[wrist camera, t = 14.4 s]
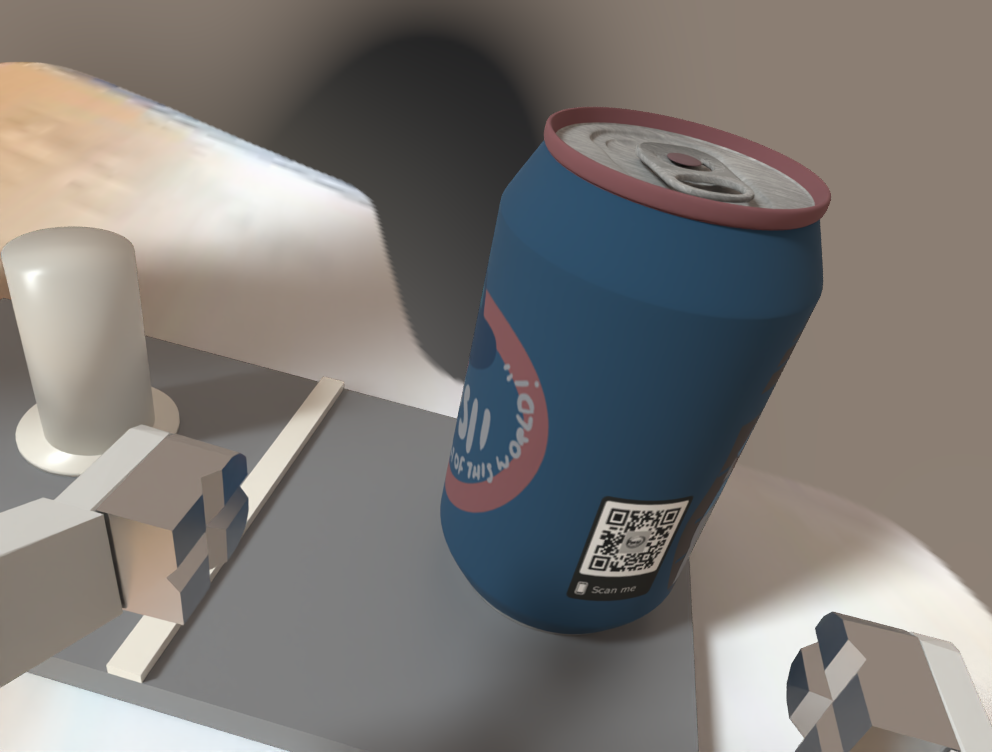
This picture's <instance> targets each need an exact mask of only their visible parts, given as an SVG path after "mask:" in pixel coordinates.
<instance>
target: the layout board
mask: <svg viewBox="0 0 992 752" xmlns="http://www.w3.org/2000/svg"><path fill="white" fill-rule="evenodd" d="M1 259H2V263H3V267H4V271H5V275H6V279H7V283H8V288H9V292H10V296H11V300H9V299H6V298H3V299H1V300H0V513H1V512H4V511H7V510H10V509H12V508H15V507H18V506H21V505H24V504H26V503H29V502H32V501H35V500H38V499H40V498H47V499H51V500H54V499H56V498H57V497H58V496H59V495H60V494H61V493H62V492H63V491H64V490H65V489H66V488H67V487H68V486H69V485H70V484H71V483H73V482H74V481H75V480H76V479H77V478H78V477H79V476H80V475H81V474H82V473H83V472H84V471H85V470H86V469H87V468H89V467H90V466H91V465H92V464H93V463H94V462H95V461H96V460H97V459H98V458H99V457H100V456H101V455H102V454H103V453H104V452H106V451H107V450H108V449H109V448H110V447H111V446H112V445H113V444H114V443H115V442H116V441H117V440H118V439H119V438H120V437H122V436H123V435H124V434H125V433H126V432H127V431H128V430H129V429H131V428H133V427H136V426H139V425H141V424H142V425H146V426H149V427H152V428H156V429H159V430H163V431H166V432H169V433H173V434H178V435H182V436H185V437H189V438H192V439H195V440H199V441H202V442H205V443H209V444H212V445H216V446H219V447H222V448H226V449H229V450H232V451H236V452H239V453H241V454H243V455H244V456H246V460H247V472H248V475H247V476H246V477H245V479H244V480H243V482H242V483H241V484H240V487H241V488H242V490H243V491H244V492H245V494H246V495H247V496H248V498H249V512H248V517H247V523H246V527H245V529H244V532H243V534H242V537H241V539H240V542H239V544H238V546H237V547H236V549H235V551H234V552H233V554H232V555H231V557H230V558H229V560H228V561H227V562H225V563H223V564H221V565H219V566H217V567H215V568H213V569H211V570H210V585H211V586H210V588H209V589H208V591H207V592H206V594H205V595H204V597H203V598H202V600H201V601H200V602H199V604H198V605H197V607H196V608H195V610H194V611H193V613H192V614H191V616H190V617H189V618H188V620H187V621H186V623H185V624H184V625H181V624H177V623H173V622H169V621H165V620H161V619H157V618H154V617H150V616H146V615H142V614H138V613H134V612H130V611H126V610H123V613H122V614H121V615H120V616H118V617H116V618H115V619H113V620H111V621H110V622H108V623H106V624H105V625H103V626H101V627H100V628H98V629H96V630H95V631H93V632H92V633H90V634H88V635H87V636H85V637H83V638H82V639H80V640H78V641H77V642H75V643H73V644H72V645H70V646H68V647H67V648H65V649H63V650H62V651H60V652H59V653H57V654H55V655H54V656H52V657H50V658H49V659H47V660H45V661H44V662H42V663H40V664H39V665H37V666H35V667H34V668H32V669H30V670H29V671H27V672H29V673H32V674H36V675H39V676H42V677H46V678H49V679H52V680H56V681H59V682H62V683H65V684H69V685H72V686H75V687H79V688H82V689H85V690H89V691H92V692H95V693H99V694H102V695H105V696H108V697H112V698H115V699H118V700H122V701H125V702H128V703H132V704H135V705H138V706H141V707H145V708H148V709H151V710H155V711H158V712H161V713H165V714H168V715H171V716H175V717H178V718H181V719H184V720H188V721H191V722H194V723H198V724H201V725H204V726H208V727H211V728H214V729H218V730H221V731H224V732H227V733H231V734H234V735H237V736H241V737H244V738H247V739H251V740H254V741H257V742H261V743H264V744H267V745H270V746H274V747H277V748H280V749H284V750H287V751H290V752H699V749H698V728H697V708H696V687H695V667H694V646H693V626H692V605H691V584H690V564H689V558H688V560H687V562H686V563H685V565H684V567H683V569H682V571H681V573H680V575H679V577H678V579H677V581H676V583H675V585H674V587H673V589H672V590H671V592H670V593H669V595H668V596H667V597H666V598H665V599H664V601H663V602H662V603H661V604H660V605H658V606H657V607H656V608H655V609H654V610H652V611H651V612H649V613H648V614H646V615H645V616H643V617H641V618H639V619H637V620H635V621H633V622H631V623H628V624H625V625H622V626H619V627H616V628H613V629H609V630H605V631H600V632H596V633H591V634H585V635H574V636H566V635H555V634H549V633H544V632H540V631H536V630H533V629H530V628H527V627H525V626H522V625H520V624H518V623H516V622H514V621H512V620H510V619H508V618H507V617H505V616H504V615H502V614H500V613H499V612H498V611H496V610H495V609H494V608H492V607H491V606H490V605H489V604H488V603H487V602H486V601H485V600H484V599H483V598H482V597H481V596H480V595H479V594H478V593H477V592H476V591H475V589H474V588H473V586H472V585H471V584H470V582H469V581H468V580H467V578H466V577H465V575H464V574H463V573H462V571H461V570H460V568H459V566H458V565H457V563H456V562H455V560H454V558H453V556H452V554H451V552H450V550H449V548H448V545H447V543H446V540H445V537H444V534H443V530H442V525H441V517H440V505H441V497H442V492H443V487H444V482H445V477H446V472H447V467H448V462H449V457H450V452H451V447H452V442H453V437H454V432H455V427H456V422H457V419H456V418H453V417H449V416H445V415H441V414H438V413H434V412H430V411H426V410H423V409H419V408H415V407H411V406H407V405H404V404H400V403H396V402H392V401H389V400H385V399H381V398H377V397H374V396H370V395H366V394H362V393H359V392H355V391H351V390H347V389H344V382H343V381H339V380H335V379H332V378H328V377H324V376H323V377H322V379H321V380H320V381H319V382H317V381H314V380H310V379H306V378H302V377H299V376H295V375H291V374H287V373H284V372H280V371H276V370H272V369H269V368H265V367H261V366H257V365H254V364H250V363H246V362H242V361H238V360H235V359H231V358H227V357H223V356H220V355H216V354H212V353H208V352H205V351H201V350H197V349H193V348H190V347H186V346H182V345H178V344H175V343H171V342H167V341H163V340H160V339H156V338H152V337H148V336H145V332H144V324H143V316H142V308H141V300H140V291H139V283H138V275H137V267H136V259H135V251H134V247H133V245H132V243H131V242H130V241H129V240H128V239H126V238H125V237H123V236H121V235H119V234H117V233H114V232H111V231H107V230H103V229H97V228H90V227H56V228H48V229H42V230H37V231H33V232H29V233H26V234H23V235H21V236H19V237H17V238H15V239H13V240H11V241H10V242H8V243H7V244H6V245H5V246H4V247H3V249H2V251H1Z"/></svg>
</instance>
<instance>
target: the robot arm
mask: <svg viewBox="0 0 992 752" xmlns="http://www.w3.org/2000/svg"><path fill="white" fill-rule="evenodd" d="M247 475H248V472H247V460H246V456H244V455H243V454H241V453H239V452H236V451H232V450H229V449H226V448H222V447H219V446H216V445H212V444H209V443H205V442H202V441H199V440H195V439H192V438H189V437H185V436H182V435H178V434H173V433H169V432H166V431H163V430H159V429H156V428H152V427H149V426H146V425H142V424H141V425H139V426H136V427H133V428H131V429H129V430H128V431H127V432H126V433H125V434H124V435H123V436H122V437H120V438H119V439H118V440H117V441H116V442H115V443H114V444H113V445H112V446H111V447H110V448H109V449H108V450H107V451H106V452H104V453H103V454H102V455H101V456H100V457H99V458H98V459H97V460H96V461H95V462H94V463H93V464H92V465H91V466H90V467H89V468H87V469H86V470H85V471H84V472H83V473H82V474H81V475H80V476H79V477H78V478H77V479H76V480H75V481H74V482H73V483H71V484H70V485H69V486H68V487H67V488H66V489H65V490H64V491H63V492H62V493H61V494H60V495H59V496H58V497H57V498H56V499H54V500H51V499H47V498H40V499H38V500H35V501H32V502H29V503H26V504H24V505H21V506H18V507H15V508H12V509H10V510H7V511H4V512H1V513H0V688H1V687H2V686H4V685H6V684H7V683H9V682H11V681H12V680H14V679H16V678H17V677H19V676H21V675H22V674H24V673H26V672H27V671H29V670H30V669H32V668H34V667H35V666H37V665H39V664H40V663H42V662H44V661H45V660H47V659H49V658H50V657H52V656H54V655H55V654H57V653H59V652H60V651H62V650H63V649H65V648H67V647H68V646H70V645H72V644H73V643H75V642H77V641H78V640H80V639H82V638H83V637H85V636H87V635H88V634H90V633H92V632H93V631H95V630H96V629H98V628H100V627H101V626H103V625H105V624H106V623H108V622H110V621H111V620H113V619H115V618H116V617H118V616H120V615H121V614H122V613H123V610H126V611H130V612H134V613H138V614H142V615H146V616H150V617H154V618H157V619H161V620H165V621H169V622H173V623H177V624H181V625H184V624H185V623H186V621H187V620H188V618H189V617H190V616H191V614H192V613H193V611H194V610H195V608H196V607H197V605H198V604H199V602H200V601H201V600H202V598H203V597H204V595H205V594H206V592H207V591H208V589H209V588H210V586H211V585H210V570H211V569H213V568H215V567H217V566H219V565H221V564H223V563H225V562H227V561H228V560H229V558H230V557H231V555H232V554H233V552H234V551H235V549H236V547H237V546H238V544H239V542H240V539H241V537H242V534H243V532H244V529H245V527H246V523H247V517H248V512H249V498H248V496H247V495H246V494H245V492H244V491H243V490H242V488H241V487H240V484H241V483H242V482H243V480H244V479H245V477H246V476H247ZM815 630H816V634H817V639H818V642H817V643H814V644H812V645H809V646H806V647H804V648H801V649H800V651H799V653H798V654H797V656H796V657H795V659H794V661H793V662H792V664H791V668H790V672H789V676H788V680H787V706H788V713H789V719H790V720H791V721H792V723H793V724H794V725H795V727H796V728H797V729H798V731H799V732H800V733H801V735H802V736H803V737H804V739H803V740H802V742H801V743H800V745H799V746H798V748H797V749H796V751H795V752H992V725H991V723H990V721H989V718H988V716H987V714H986V711H985V709H984V707H983V704H982V702H981V700H980V697H979V695H978V693H977V690H976V688H975V686H974V683H973V681H972V679H971V676H970V674H969V672H968V669H967V667H966V665H965V662H964V660H963V658H962V655H961V653H960V652H959V650H958V649H957V648H956V647H955V646H954V645H953V644H952V643H951V642H948V641H944V640H941V639H937V638H933V637H929V636H925V635H921V634H917V633H914V632H907V631H905V630H902V629H898V628H894V627H890V626H887V625H883V624H879V623H875V622H871V621H867V620H863V619H859V618H856V617H852V616H848V615H844V614H840V613H836V612H831V613H829V614H827V615H825V616H824V617H823V618H822V619H821V621H820V622H819V624H818V625H817V626H816V628H815Z"/></svg>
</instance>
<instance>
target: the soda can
mask: <svg viewBox="0 0 992 752" xmlns="http://www.w3.org/2000/svg"><path fill="white" fill-rule="evenodd" d="M830 201H831V193H830V191H829V188H828V187H827V185H826V184H825V183H824V182H823V180H822V179H821V178H819V177H818V176H817V175H816V174H815V173H813V172H812V171H811V170H809V169H808V168H806V167H804V166H803V165H801V164H800V163H798V162H796V161H794V160H792V159H790V158H789V157H787V156H785V155H783V154H781V153H779V152H776V151H774V150H772V149H770V148H767V147H765V146H763V145H760V144H758V143H756V142H753V141H750V140H748V139H745V138H742V137H739V136H737V135H734V134H731V133H728V132H725V131H722V130H718V129H715V128H712V127H709V126H705V125H701V124H698V123H694V122H690V121H686V120H682V119H678V118H674V117H669V116H664V115H659V114H654V113H649V112H643V111H636V110H628V109H620V108H608V107H578V108H570V109H565V110H561V111H558V112H556V113H554V114H552V115H551V116H550V117H549V118H548V120H547V122H546V125H545V131H544V141H543V142H542V143H541V145H540V146H539V147H538V148H537V150H536V151H535V152H534V153H533V155H532V156H531V157H530V158H529V160H528V161H527V162H526V163H525V164H524V166H523V167H522V168H521V169H520V171H519V172H518V173H517V175H516V176H515V177H514V178H513V180H512V181H511V182H510V183H509V185H508V186H507V188H506V189H505V191H504V193H503V195H502V197H501V201H500V206H499V211H498V216H497V222H496V227H495V231H494V237H493V242H492V247H491V252H490V256H489V262H488V267H487V272H486V277H485V282H484V287H483V292H482V297H481V302H480V307H479V312H478V317H477V322H476V327H475V332H474V337H473V342H472V347H471V352H470V357H469V362H468V367H467V372H466V378H465V382H464V387H463V392H462V397H461V402H460V407H459V412H458V417H457V422H456V427H455V432H454V437H453V442H452V447H451V452H450V457H449V462H448V467H447V472H446V477H445V482H444V487H443V492H442V497H441V505H440V517H441V525H442V530H443V534H444V537H445V540H446V543H447V545H448V548H449V550H450V552H451V554H452V556H453V558H454V560H455V562H456V563H457V565H458V566H459V568H460V570H461V571H462V573H463V574H464V575H465V577H466V578H467V580H468V581H469V582H470V584H471V585H472V586H473V588H474V589H475V591H476V592H477V593H478V594H479V595H480V596H481V597H482V598H483V599H484V600H485V601H486V602H487V603H488V604H489V605H490V606H491V607H492V608H494V609H495V610H496V611H498V612H499V613H500V614H502V615H504V616H505V617H507V618H508V619H510V620H512V621H514V622H516V623H518V624H520V625H522V626H525V627H527V628H530V629H533V630H536V631H540V632H544V633H549V634H555V635H566V636H574V635H585V634H591V633H596V632H600V631H605V630H609V629H613V628H616V627H619V626H622V625H625V624H628V623H631V622H633V621H635V620H637V619H639V618H641V617H643V616H645V615H646V614H648V613H649V612H651V611H652V610H654V609H655V608H656V607H657V606H658V605H660V604H661V603H662V602H663V601H664V599H665V598H666V597H667V596H668V595H669V593H670V592H671V590H672V589H673V587H674V585H675V583H676V581H677V579H678V577H679V575H680V573H681V571H682V569H683V567H684V565H685V563H686V562H687V560H688V558H689V556H690V554H691V552H692V550H693V548H694V546H695V544H696V542H697V540H698V538H699V536H700V534H701V532H702V530H703V528H704V526H705V524H706V522H707V520H708V518H709V516H710V514H711V512H712V510H713V508H714V506H715V504H716V502H717V500H718V498H719V496H720V494H721V492H722V490H723V488H724V486H725V484H726V482H727V480H728V478H729V476H730V474H731V472H732V470H733V468H734V466H735V464H736V462H737V460H738V458H739V456H740V454H741V452H742V450H743V449H744V446H745V445H746V443H747V441H748V439H749V437H750V435H751V433H752V430H753V429H754V427H755V425H756V423H757V421H758V419H759V417H760V415H761V413H762V411H763V409H764V407H765V405H766V403H767V401H768V399H769V397H770V395H771V393H772V391H773V389H774V387H775V385H776V383H777V381H778V379H779V377H780V375H781V373H782V371H783V369H784V367H785V365H786V363H787V361H788V359H789V357H790V355H791V353H792V351H793V349H794V347H795V345H796V343H797V341H798V340H799V338H800V336H801V334H802V332H803V329H804V328H805V326H806V323H807V322H808V320H809V318H810V316H811V313H812V312H813V310H814V308H815V306H816V304H817V302H818V300H819V298H820V296H821V292H822V288H823V266H822V248H821V232H820V219H821V218H822V217H823V215H824V214H825V212H826V211H827V209H828V206H829V204H830Z"/></svg>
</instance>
